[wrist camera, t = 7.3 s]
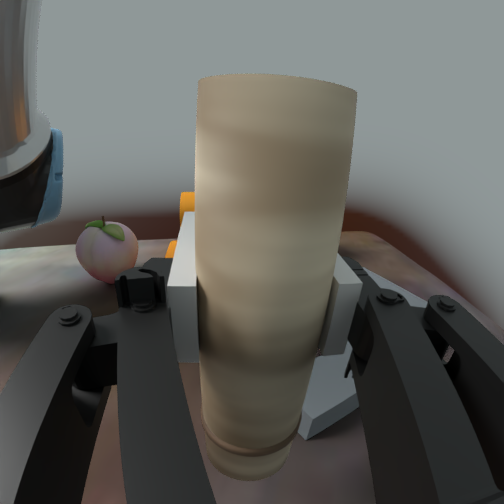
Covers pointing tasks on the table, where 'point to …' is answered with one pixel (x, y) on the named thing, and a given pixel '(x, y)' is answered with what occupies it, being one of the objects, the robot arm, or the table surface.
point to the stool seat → (337, 380)
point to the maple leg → (265, 254)
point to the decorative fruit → (106, 249)
